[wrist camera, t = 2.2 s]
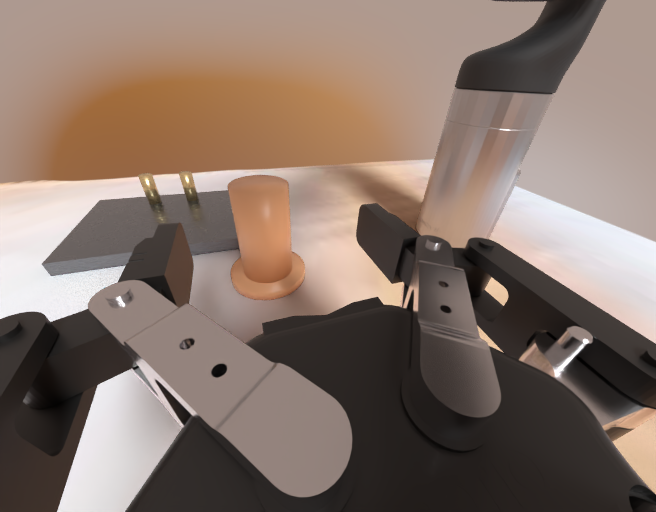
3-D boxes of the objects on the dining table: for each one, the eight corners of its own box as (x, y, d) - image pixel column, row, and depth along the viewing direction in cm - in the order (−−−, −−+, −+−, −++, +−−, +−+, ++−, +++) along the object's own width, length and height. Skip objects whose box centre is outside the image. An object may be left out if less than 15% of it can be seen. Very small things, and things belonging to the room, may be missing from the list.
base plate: (243, 197, 43) (238, 165, 40) (253, 246, 31) (247, 205, 28) (104, 209, 38) (85, 172, 34) (50, 275, 25) (13, 228, 22)
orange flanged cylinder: (295, 250, 31) (292, 168, 25) (313, 290, 25) (314, 197, 20) (230, 260, 29) (211, 173, 23) (234, 307, 23) (209, 207, 17)
